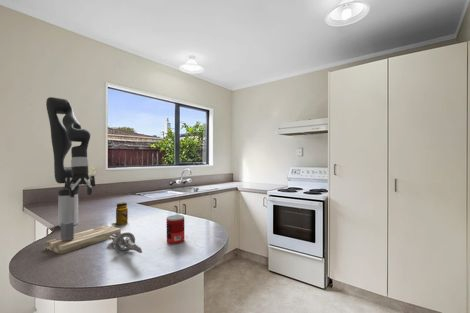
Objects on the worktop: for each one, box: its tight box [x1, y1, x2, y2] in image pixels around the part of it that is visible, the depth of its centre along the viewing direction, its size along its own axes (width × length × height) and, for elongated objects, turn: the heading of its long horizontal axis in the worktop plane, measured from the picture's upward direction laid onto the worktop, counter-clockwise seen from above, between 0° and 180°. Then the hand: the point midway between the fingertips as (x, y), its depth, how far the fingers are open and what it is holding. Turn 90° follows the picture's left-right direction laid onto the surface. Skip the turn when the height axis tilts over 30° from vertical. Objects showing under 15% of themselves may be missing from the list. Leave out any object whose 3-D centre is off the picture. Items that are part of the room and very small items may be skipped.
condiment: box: [110, 202, 130, 228], centre depth 133 cm, size 7×8×12 cm
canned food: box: [166, 214, 185, 245], centre depth 104 cm, size 8×8×11 cm
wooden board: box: [45, 225, 122, 255], centre depth 106 cm, size 12×26×3 cm, turn 152°
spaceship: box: [110, 231, 143, 254], centre depth 92 cm, size 8×35×8 cm
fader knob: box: [60, 222, 75, 241], centre depth 99 cm, size 4×3×8 cm
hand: (81, 196), depth 123 cm, fingers open, 8 cm apart
